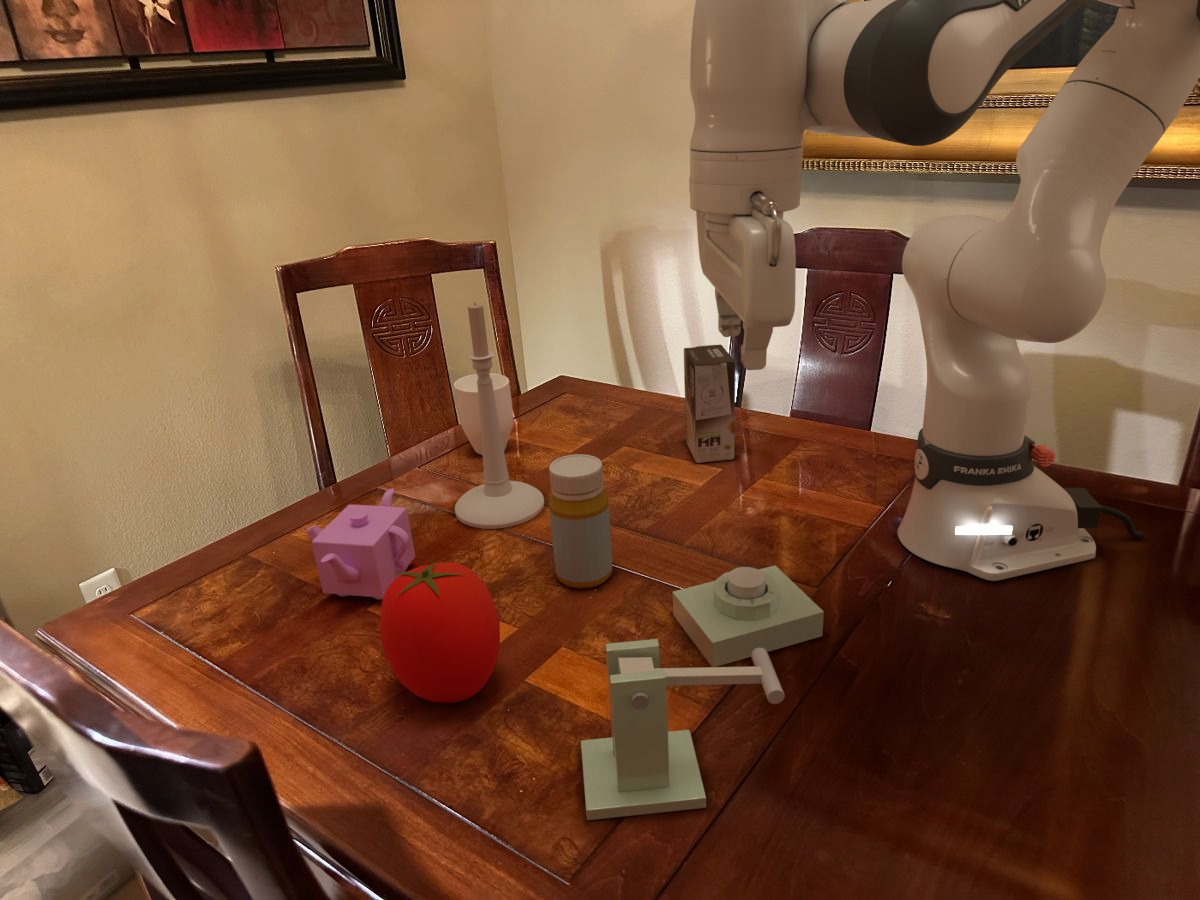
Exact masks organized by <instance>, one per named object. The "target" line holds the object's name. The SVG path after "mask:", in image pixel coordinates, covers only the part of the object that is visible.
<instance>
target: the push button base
mask: <svg viewBox="0 0 1200 900" xmlns="http://www.w3.org/2000/svg"><path fill="white" fill-rule="evenodd" d="M758 570H760V571H761V572H763V573H764V575H765V578H766V580H765V594H764V595H763V596H762V597H760V598H756V599H753V600H746V599H738V598H735V597H733V596H731V595H730V594H729V593H728V590H727V576H728V574H729V572H730V571H727V572H724V573H722V574H721V575H720V576H718V577H717V578H716V579H715V580H712V581H709V582H704V583H700V584H697V585H693V586H689V587H684V588H681V589H678V590H674V591H672V615H673V617H674V618H675V620H676V621H677V622H678V624H679V625H680V626H681V628H682V629H683V630H684V632H685V633H686V634H687V635H688V637H689V638H690V640H691V641H692V642H693V644H694V645H695V647H697V649H698V650H699V652H700V653H701V654H702V656H703V657H704V658H705V659H706V661H707V662H708V663H709V665H710V667H722V666H725V665H727V664H731V663H734V662H738V661H741V660H744V659H748V658H751V653H752V651H753V650H754V649H756V648H764V649H766V651H767V653H769V652H772V651H776V650H779V649H782V648H783V649H784V648H785V647H789V646H793V645H797V644H800V643H803V642H808V641H810V640H815V639H817V638H818V639H819V638H820V637H823V634H824V633H823V630H824V617H825V615H824V614H825V613H824V612H825V611H824V610H823V609H822V608H820V606H819V605H818V604H817V603H815V602H814V601H813V600H812V599H811V597H809V596H808V595H807V594H806V593H805V592H804V591H803V590H802V589H801V588H800V587H799V586H798V585H796V583H795V582H794V581H793V580H792V579H790V578H789V576H787V575H786V574H785V572H783V571H782V570H781V569H780V568H779V567H778V566H777V565H770V566H766V567H763V568H759V569H758Z"/></svg>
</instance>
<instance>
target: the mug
mask: <svg viewBox="0 0 1200 900" xmlns="http://www.w3.org/2000/svg"><path fill="white" fill-rule="evenodd" d="M490 378H491V379H492V385H493V390H494V396H495V402H496V408H497V414H498V419H499V425H500V431H501V437H502V442H503V448H504V451H505V450H506V448H507V445H508V441H509V440H510V435H511V433H512V430H513V426H514V410H513V400H512V393H511V392H512V391H511V386H510V385H511V384H510V380H509V378H508V377H507V376H505V375H504V374H499V373H493V372H492V373H491V372H490ZM477 380H478V374H477V373H475V374H469V375H465V376H462V377H460V378H458V379H456V380H455V381H454V383H453V388H454V395H455V401H456V406H457V414H458V418H459V422H460V427H461V430H462V431H463V433H464V435H465V436H466V438H467V440H468V441H469V443H470V445H471V446H472V448H473V450H474V452H475V453H476V454H478V455H481V456H483V453H482V440H481V426H480V412H479V398H478V385H477Z"/></svg>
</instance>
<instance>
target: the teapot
mask: <svg viewBox="0 0 1200 900" xmlns="http://www.w3.org/2000/svg"><path fill="white" fill-rule="evenodd" d="M394 493H395V488H392V487H391V488H389V489H387V490H385V492H384V494H383V495H382V498H381V502H380V505H368V504H351V503H349V504H348V505H347V506H345V508H344V509H342V510H341V512H339V514H338V515H337V516H335V517H334V519H332V520H331V521H330V523H328V524H327V525H326V526H325V527H324V528H320V527H319V526H318V525H314V526H310V527H308V528H307V529H306V530H305V534H306V535H307V536H308V537H309V538H310V540H311V542H310V544H311V547H312V551H313V556H314V560H315V564H316V568H317V573H318V578H319V582H320V586H321V591H322V593H323V594H332V595H337V596H339V597H348V596H355V597H357V596H358V597H368V598H373V599H374V600H383V596H384V594H385V592H386V590H387V588H388V587H389V585H390V583H391V582H392V581H393V580H394V579H396V578H397V577H399V576H400V575H402V574H395V573H405V572H407V571H406V570H407V569H408V568H409V565H410V564H411V563H412V561H413V560H414V559H415V558H416V552H415V546H414V540H413V535H412V531H411V523H410V517H409V513H408V508H407V507H404V506H403V507H400V506H399V507H398V506H393V496H394Z"/></svg>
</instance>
